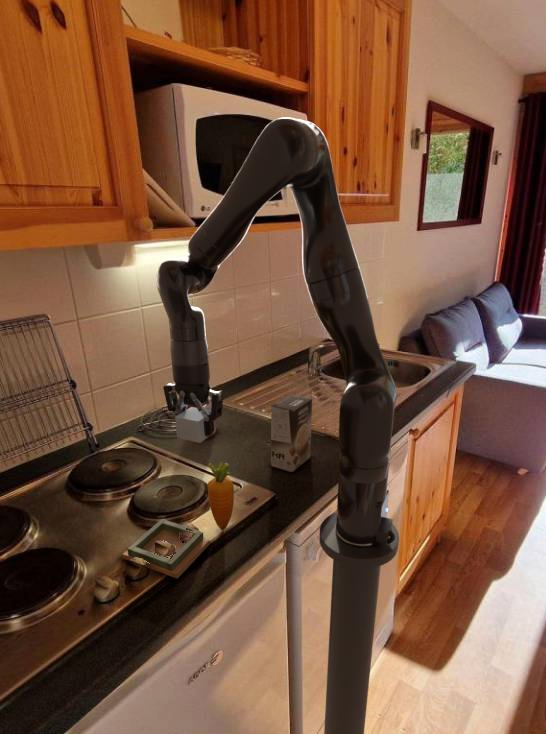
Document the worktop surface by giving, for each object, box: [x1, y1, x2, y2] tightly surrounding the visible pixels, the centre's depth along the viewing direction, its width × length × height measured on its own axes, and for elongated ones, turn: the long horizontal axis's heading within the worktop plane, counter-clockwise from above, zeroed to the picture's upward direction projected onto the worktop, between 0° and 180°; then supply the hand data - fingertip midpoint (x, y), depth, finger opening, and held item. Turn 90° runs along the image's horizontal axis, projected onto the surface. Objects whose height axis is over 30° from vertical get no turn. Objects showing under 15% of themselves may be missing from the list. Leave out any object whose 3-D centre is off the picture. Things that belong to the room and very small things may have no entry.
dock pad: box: [122, 518, 211, 580], centre depth 87 cm, size 12×10×2 cm
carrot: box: [206, 461, 235, 531], centre depth 91 cm, size 5×5×15 cm
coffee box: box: [270, 394, 313, 473], centre depth 116 cm, size 9×6×16 cm
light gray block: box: [174, 407, 216, 444], centre depth 104 cm, size 6×6×5 cm
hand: (196, 432), depth 105 cm, fingers closed on light gray block, 6 cm apart
